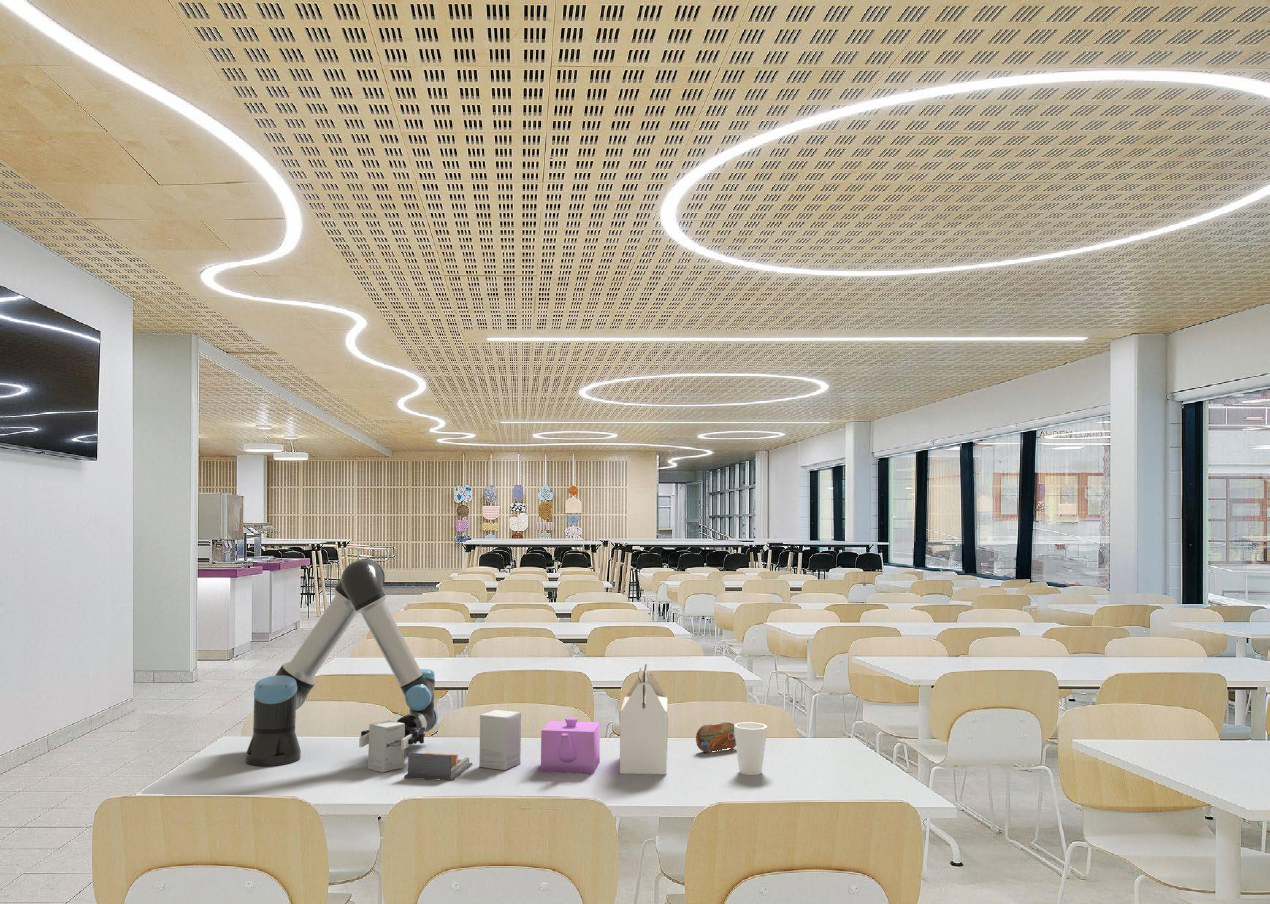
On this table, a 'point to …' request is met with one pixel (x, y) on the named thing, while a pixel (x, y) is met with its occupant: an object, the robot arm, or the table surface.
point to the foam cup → (750, 746)
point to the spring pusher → (453, 758)
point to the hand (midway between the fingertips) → (381, 743)
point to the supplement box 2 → (500, 739)
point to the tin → (716, 737)
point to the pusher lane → (435, 766)
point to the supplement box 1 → (386, 746)
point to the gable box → (644, 728)
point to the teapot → (570, 746)
